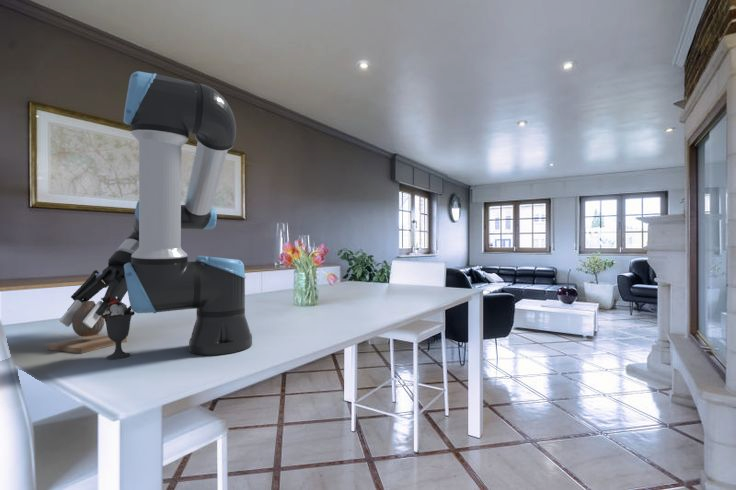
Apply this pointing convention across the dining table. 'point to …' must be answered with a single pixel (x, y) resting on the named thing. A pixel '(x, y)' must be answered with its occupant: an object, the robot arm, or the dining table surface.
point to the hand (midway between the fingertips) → (75, 324)
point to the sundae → (117, 325)
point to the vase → (81, 315)
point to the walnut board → (83, 344)
